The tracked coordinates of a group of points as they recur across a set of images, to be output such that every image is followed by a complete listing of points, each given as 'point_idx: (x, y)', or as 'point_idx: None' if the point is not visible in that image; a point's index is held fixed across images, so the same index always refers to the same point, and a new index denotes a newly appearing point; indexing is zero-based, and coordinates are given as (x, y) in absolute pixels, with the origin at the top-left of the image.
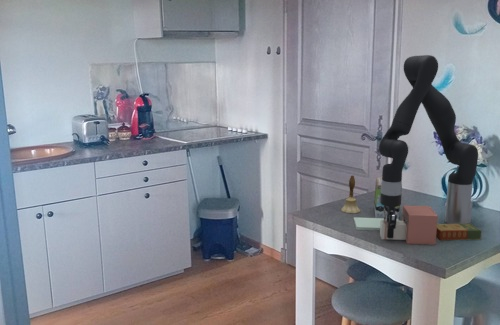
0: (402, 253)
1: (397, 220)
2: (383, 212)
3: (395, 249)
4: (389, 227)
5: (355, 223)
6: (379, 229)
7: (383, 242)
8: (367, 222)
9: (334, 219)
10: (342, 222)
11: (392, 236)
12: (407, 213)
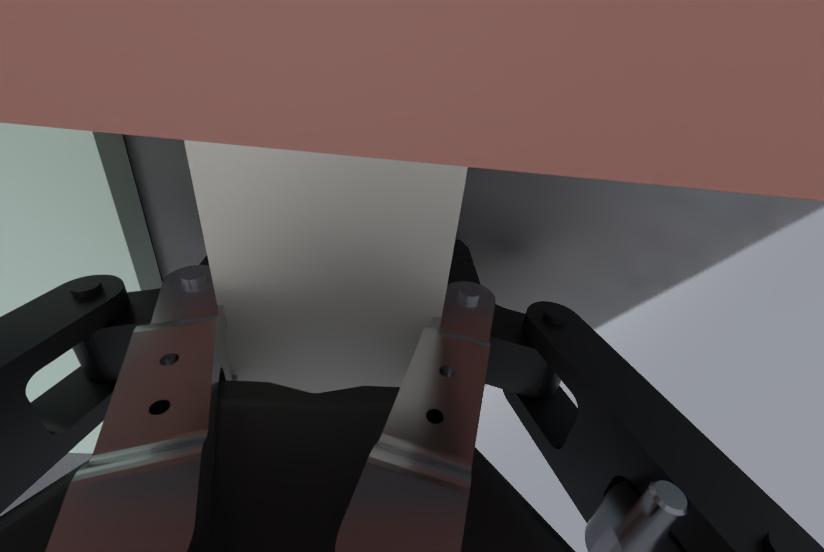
0: (796, 212)
1: (198, 204)
2: None
3: (681, 249)
4: (556, 389)
5: (88, 451)
6: (153, 286)
7: None
8: None
9: (2, 514)
10: (49, 484)
11: (466, 246)
12: (763, 174)
